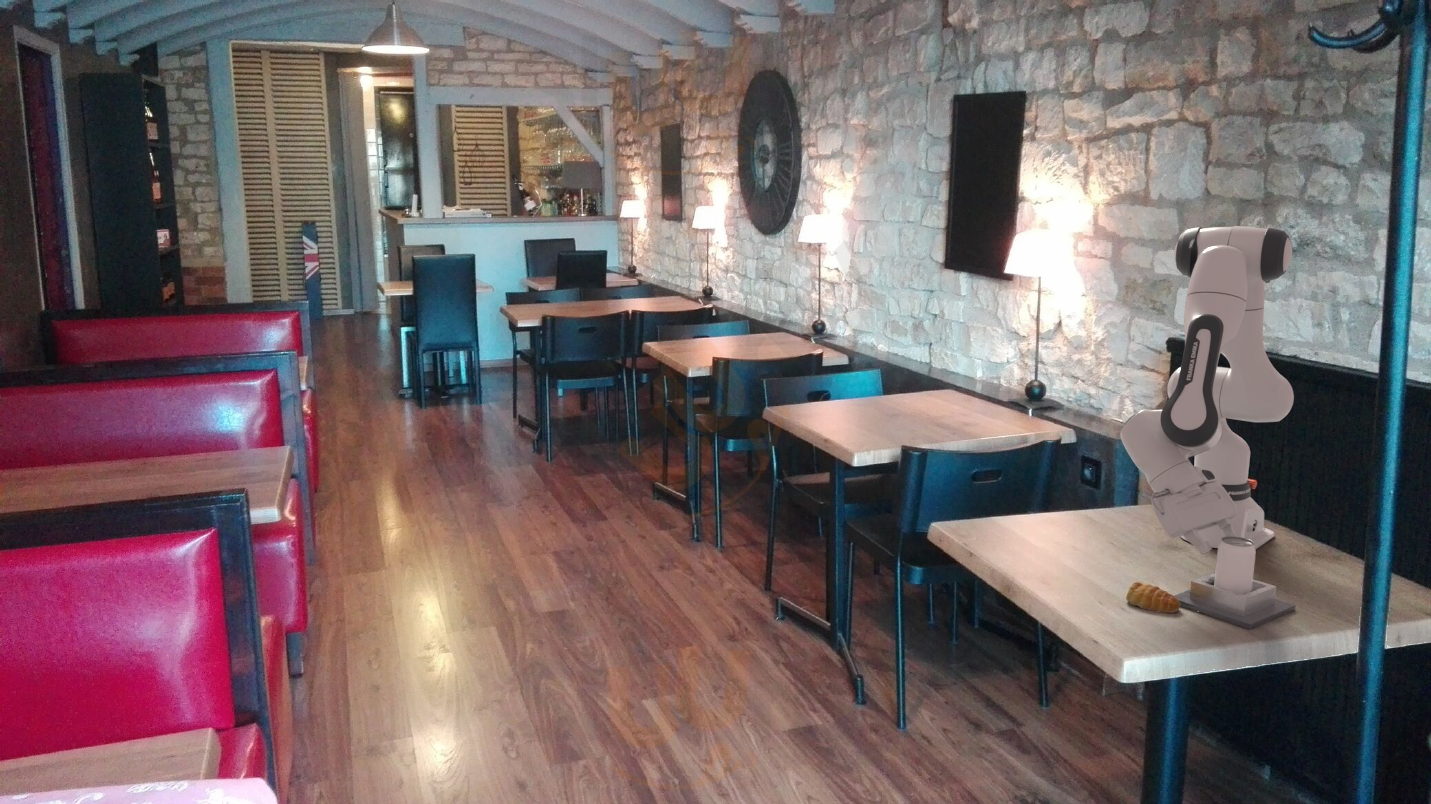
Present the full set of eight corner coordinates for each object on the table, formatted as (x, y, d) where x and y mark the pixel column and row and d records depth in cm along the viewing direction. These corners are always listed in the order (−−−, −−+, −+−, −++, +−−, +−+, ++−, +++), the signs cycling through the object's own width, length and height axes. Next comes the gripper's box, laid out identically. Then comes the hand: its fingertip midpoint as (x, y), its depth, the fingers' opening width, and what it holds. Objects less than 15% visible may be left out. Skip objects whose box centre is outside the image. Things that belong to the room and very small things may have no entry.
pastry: (1185, 608, 211) (1187, 589, 211) (1170, 618, 207) (1172, 599, 206) (1137, 595, 218) (1139, 577, 217) (1122, 605, 213) (1123, 586, 212)
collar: (1214, 585, 223) (1217, 563, 222) (1294, 610, 211) (1297, 587, 210) (1168, 602, 214) (1170, 580, 213) (1249, 629, 201) (1252, 606, 200)
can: (1254, 609, 208) (1261, 547, 206) (1217, 606, 210) (1223, 545, 207) (1245, 596, 215) (1251, 536, 212) (1209, 594, 216) (1215, 534, 213)
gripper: (1159, 486, 210) (1202, 549, 205) (1218, 469, 222) (1261, 529, 217) (1136, 503, 215) (1178, 565, 209) (1195, 486, 227) (1236, 545, 221)
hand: (1221, 547), depth 213 cm, fingers open, 8 cm apart
